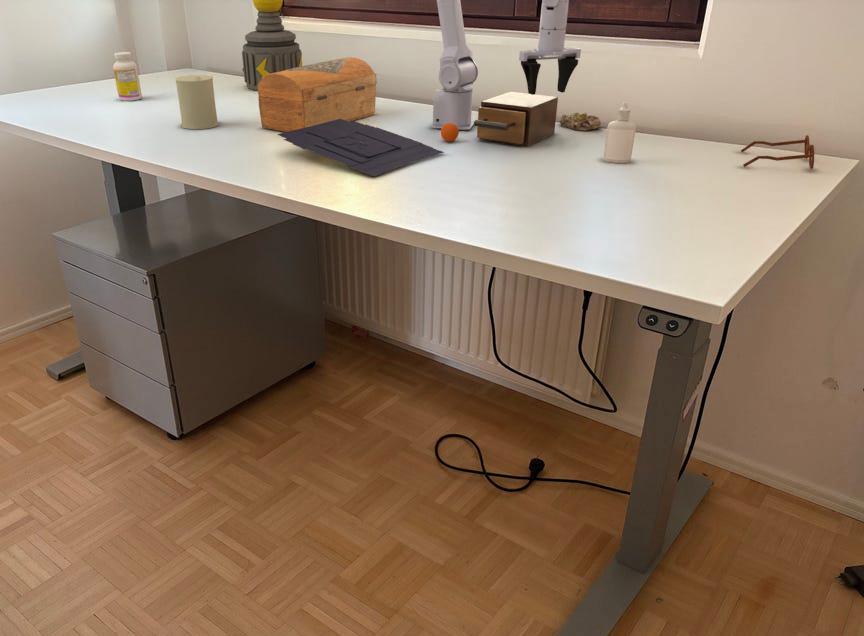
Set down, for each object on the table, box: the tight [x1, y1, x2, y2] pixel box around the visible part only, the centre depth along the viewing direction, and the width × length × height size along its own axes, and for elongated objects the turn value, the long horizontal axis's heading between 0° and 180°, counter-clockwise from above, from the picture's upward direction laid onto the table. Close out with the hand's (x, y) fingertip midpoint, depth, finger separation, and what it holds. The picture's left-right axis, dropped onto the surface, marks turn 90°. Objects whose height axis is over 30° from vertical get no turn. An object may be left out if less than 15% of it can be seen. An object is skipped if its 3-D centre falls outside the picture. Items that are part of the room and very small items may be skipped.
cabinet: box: [478, 91, 559, 147], centre depth 175 cm, size 15×13×9 cm
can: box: [174, 74, 219, 130], centre depth 187 cm, size 9×9×12 cm
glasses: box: [740, 134, 815, 170], centre depth 155 cm, size 13×13×5 cm
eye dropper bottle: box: [602, 101, 637, 164], centre depth 155 cm, size 4×6×12 cm
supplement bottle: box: [112, 51, 143, 102], centre depth 218 cm, size 7×7×13 cm
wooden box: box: [257, 56, 378, 133], centre depth 190 cm, size 30×16×14 cm, turn 144°
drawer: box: [473, 106, 528, 144], centre depth 172 cm, size 18×11×7 cm, turn 145°
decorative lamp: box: [241, 0, 303, 92], centre depth 230 cm, size 19×19×30 cm
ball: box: [440, 123, 460, 143], centre depth 173 cm, size 4×4×4 cm
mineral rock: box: [559, 112, 602, 132], centre depth 185 cm, size 11×4×8 cm
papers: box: [276, 119, 445, 177], centre depth 163 cm, size 24×30×4 cm
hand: (546, 92), depth 171 cm, fingers open, 7 cm apart
